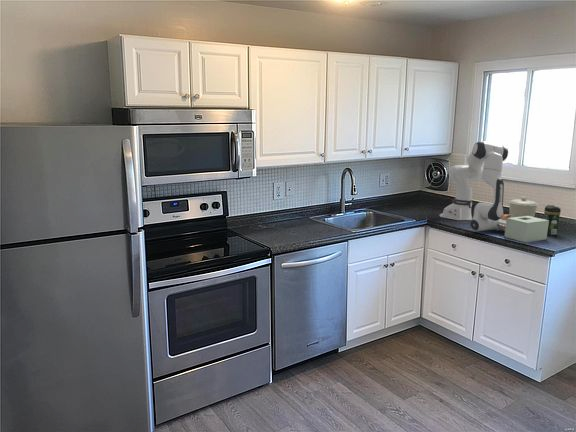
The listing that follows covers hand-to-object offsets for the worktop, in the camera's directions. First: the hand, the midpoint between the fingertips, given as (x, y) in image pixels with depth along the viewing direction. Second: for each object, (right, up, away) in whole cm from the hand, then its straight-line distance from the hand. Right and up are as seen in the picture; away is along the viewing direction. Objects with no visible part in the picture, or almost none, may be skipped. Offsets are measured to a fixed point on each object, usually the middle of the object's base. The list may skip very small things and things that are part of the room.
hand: (506, 221), depth 306 cm
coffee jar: (+24, -8, -8) cm, 27 cm away
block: (-1, -5, +1) cm, 6 cm away
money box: (+2, -10, -21) cm, 23 cm away
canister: (+15, -4, +11) cm, 19 cm away
